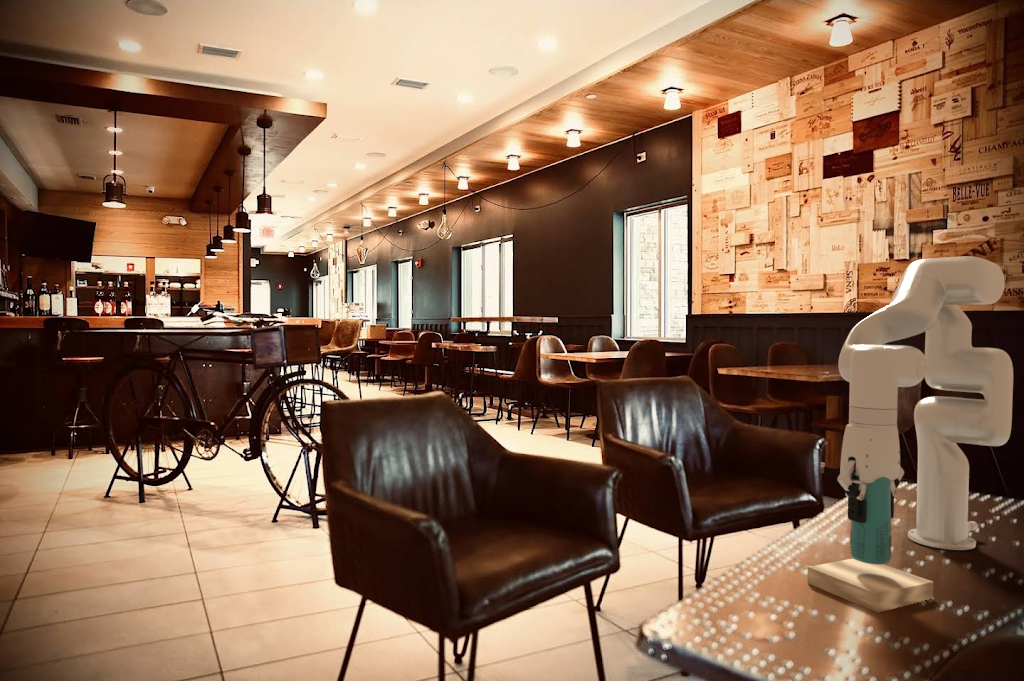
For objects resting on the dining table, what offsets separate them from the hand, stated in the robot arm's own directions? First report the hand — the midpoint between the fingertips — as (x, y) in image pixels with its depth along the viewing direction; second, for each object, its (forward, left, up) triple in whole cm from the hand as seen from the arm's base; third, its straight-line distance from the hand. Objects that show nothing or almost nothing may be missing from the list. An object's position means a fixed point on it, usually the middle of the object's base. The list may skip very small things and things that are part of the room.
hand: (870, 517), depth 123 cm
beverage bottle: (0, 0, -9) cm, 9 cm away
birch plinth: (0, 0, -13) cm, 13 cm away
